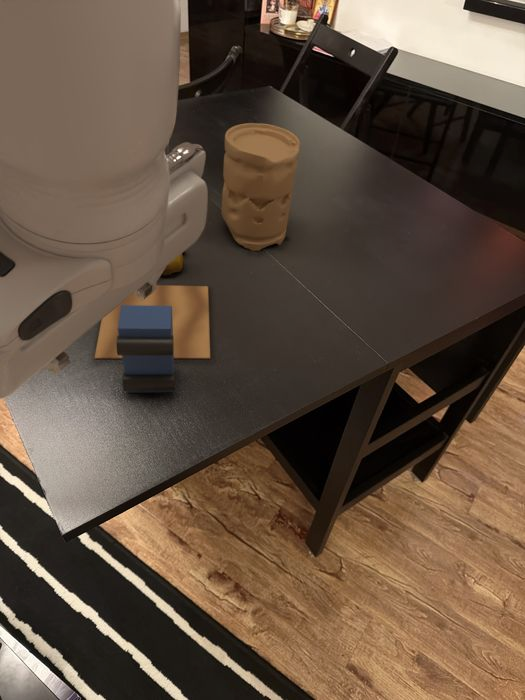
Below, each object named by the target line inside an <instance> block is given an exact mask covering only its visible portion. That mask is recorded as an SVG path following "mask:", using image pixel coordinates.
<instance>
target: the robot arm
mask: <svg viewBox="0 0 525 700" xmlns="http://www.w3.org/2000/svg"><path fill="white" fill-rule="evenodd" d="M181 8H182V7H181V0H0V400H1V399H2V400H3V399H5V398H7V397H9V396H11V395H13V394H14V393H15V392H16V391H17V390H19V388H21V387H22V386H23V385H24V384H25V383H27V382H28V381H29V380H31V378H33V377H34V376H35V375H36V374H37V373H39V372H40V371H46V370H47V371H48V372H50V373H51V374H52V375H53V376H56V375H58V374H59V373H60V372H62V371H63V370H64V369H65V368H66V367H67V366H68V365H69V364H71V361H70V357H69V354H68V353H67V352H65V350H67V349H68V348H69V347H70V346H72V345H73V344H74V343H75V342H76V341H78V340H79V339H80V338H81V337H82V336H84V335H85V334H86V333H87V332H88V331H90V330H91V329H92V328H93V327H94V326H96V325H97V324H98V323H100V322H101V321H102V319H103V318H104V317H105V316H106V315H108V314H109V313H110V312H111V311H113V310H114V309H115V308H116V307H117V306H119V305H120V304H121V303H122V302H123V301H125V300H126V299H127V298H128V297H129V296H131V295H132V294H133V293H134V294H137V295H138V298H140V299H141V300H144V299H146V298H147V297H148V296H149V295H150V294H152V293H153V292H154V291H155V290H156V285H157V284H158V283H157V281H159V279H160V278H161V277H162V276H161V274H162V273H163V271H164V269H165V268H166V266H167V265H168V264H170V263H171V262H172V261H173V260H174V259H176V258H177V257H178V256H179V255H180V254H182V255H183V253H185V252H186V251H187V250H188V249H189V248H191V247H192V246H193V245H194V244H195V243H197V241H198V240H199V238H200V237H201V236H202V233H203V232H204V230H205V228H206V225H207V224H206V223H207V215H208V203H209V193H208V191H209V189H208V186H207V185H208V184H207V183H206V181H205V180H204V179H202V177H203V174H204V170H205V164H206V157H207V153H206V151H205V150H204V148H203V147H202V145H200V144H198V143H191V142H189V141H186V142H182V143H180V144H178V145H177V146H175V147H174V148H173V149H172V150H171V151H170V152H169V153H168V155H166V154H165V148H166V146H167V144H168V142H169V143H170V140H171V138H172V136H173V132H174V129H175V125H176V119H177V112H178V99H179V87H180V86H179V85H180V66H181V41H182V40H181V37H182V33H181V30H182V29H181V28H182V27H181V26H182V24H181V23H182V14H181V13H182V12H181V11H182V10H181ZM185 250H186V251H185ZM184 251H185V252H184Z"/></svg>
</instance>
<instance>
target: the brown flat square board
mask: <svg viewBox="0 0 525 700" xmlns="http://www.w3.org/2000/svg"><path fill="white" fill-rule="evenodd" d="M121 305H141V306H172V320H173V339H174V360H210V359H211V341H210V340H211V338H210V337H211V336H210V304H209V286H208V285H171V284H170V285H169V284H167V285H166V284H164V285H163V284H156V290H155V291H154V292H153V293H152V294H150V295H149V296H148V297H147V298H146V299H144V300H141V299H140V298H138V295H137V294H134V293H133V294H132V295H131V296H129V297H128V298H127V299H126V300H125V301H123V302H122V303H121V304H120V305H119V306H117V307H116V308H115V309H114V310H113V311H111V312H110V313H109V314H108V315H106V316H105V317H104V318H103V319H102V320H100V326H99V327H100V328H99V331H98V338H97V342H96V347H95V353H94V360H123V359H122V355H118V354H117V347H116V343H117V336H118V335H119V334H118V323H119V316H120V309H121Z"/></svg>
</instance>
